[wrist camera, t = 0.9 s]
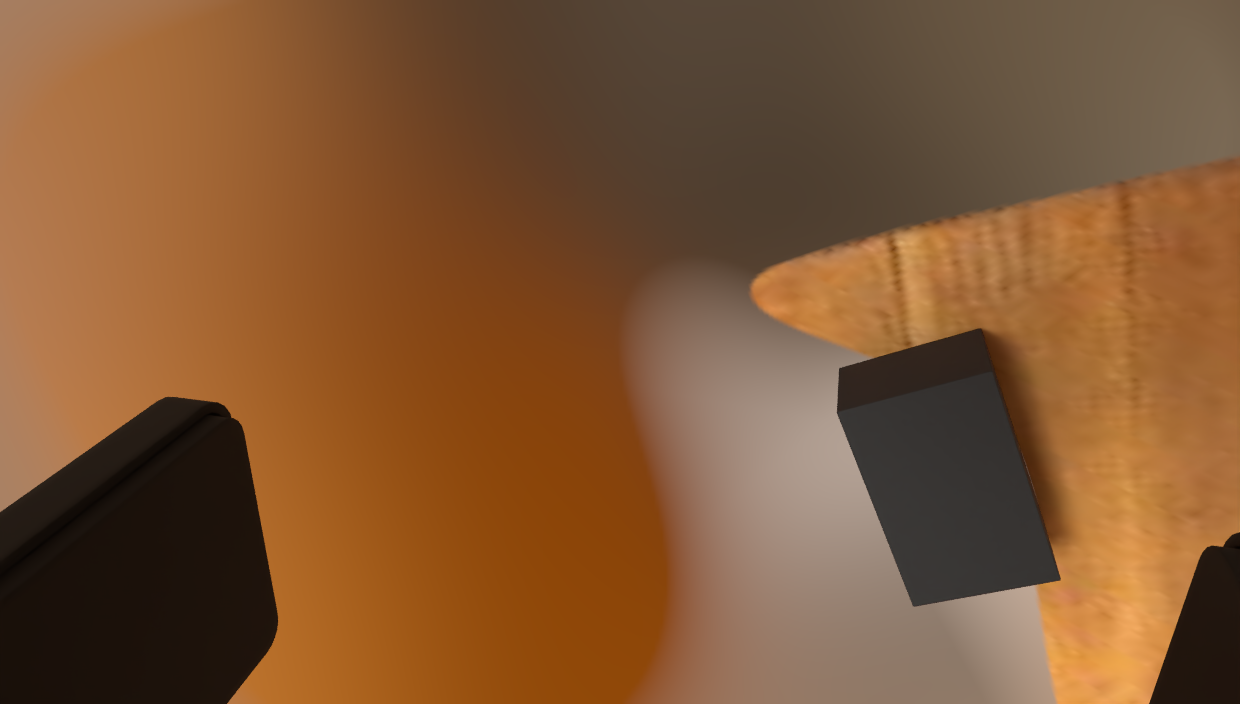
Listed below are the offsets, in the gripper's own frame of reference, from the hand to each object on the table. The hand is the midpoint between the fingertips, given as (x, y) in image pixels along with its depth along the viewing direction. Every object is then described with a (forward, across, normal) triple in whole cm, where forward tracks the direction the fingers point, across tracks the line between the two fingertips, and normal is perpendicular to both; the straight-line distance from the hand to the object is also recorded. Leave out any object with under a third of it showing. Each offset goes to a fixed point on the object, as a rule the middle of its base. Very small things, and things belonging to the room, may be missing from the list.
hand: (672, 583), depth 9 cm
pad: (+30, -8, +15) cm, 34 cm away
